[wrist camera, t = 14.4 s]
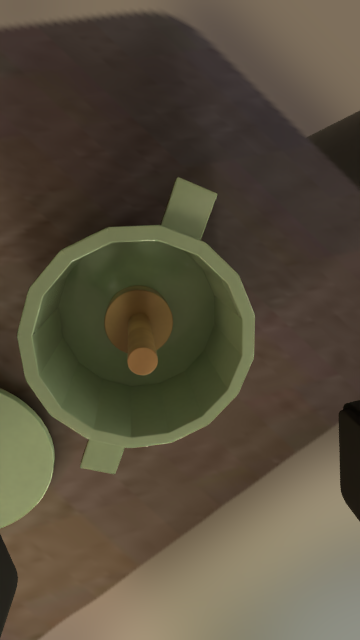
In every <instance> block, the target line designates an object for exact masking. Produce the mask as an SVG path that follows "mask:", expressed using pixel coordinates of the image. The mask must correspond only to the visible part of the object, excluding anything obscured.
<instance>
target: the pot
mask: <svg viewBox="0 0 360 640" xmlns="http://www.w3.org/2000/svg"><path fill="white" fill-rule="evenodd" d="M216 197H217V193H215V192H213V191H210V190H208V189H205V188H203V187H201V186H198V185H196V184H194V183H191V182H189V181H187V180H184V179H182V178H179V177H177V178H176V179H175V181H174V184H173V187H172V190H171V193H170V196H169V199H168V202H167V205H166V208H165V211H164V214H163V217H162V220H161V223H160V225H142V226H119V227H108V228H105V229H102V230H100V231H98V232H96V233H94V234H92V235H90V236H88V237H86V238H84V239H82V240H80V241H78V242H76V243H74V244H72V245H70V246H67V247H65V248H63V249H62V250H60V251H59V252H58V254H57V255H56V256H55V257H54V258H53V260H52V261H51V262H50V263H49V264H48V266H47V267H46V268H45V269H44V271H43V272H42V273H41V274H40V275H39V277H38V278H37V279H36V280H35V281H34V283H33V284H32V285H31V286H30V287H29V290H28V293H27V297H26V301H25V305H24V309H23V312H22V316H21V320H20V324H19V328H18V332H17V339H18V344H19V349H20V355H21V360H22V365H23V370H24V375H25V379H26V382H27V383H28V384H29V386H30V387H31V389H32V390H33V391H34V393H35V394H36V396H37V397H38V399H39V400H40V401H41V403H42V404H43V406H44V407H45V408H46V410H47V411H48V413H49V414H50V415H51V416H52V417H54V418H55V419H57V420H58V421H60V422H61V423H63V424H65V425H66V426H68V427H69V428H71V429H72V430H74V431H76V432H77V433H79V434H80V435H82V436H83V437H85V438H87V439H88V441H87V444H86V447H85V450H84V453H83V456H82V460H81V464H80V468H84V469H90V470H95V471H100V472H105V473H111V474H115V473H116V470H117V468H118V465H119V462H120V460H121V457H122V454H123V451H124V449H125V447H126V448H135V447H143V446H150V445H158V444H166V443H171V442H174V441H176V440H178V439H180V438H182V437H184V436H186V435H188V434H190V433H192V432H194V431H196V430H198V429H200V428H202V427H204V426H207V425H208V424H210V423H211V422H212V421H213V419H214V418H215V417H216V416H217V415H218V414H219V413H220V412H221V411H222V410H223V409H224V408H225V407H226V406H227V405H228V404H229V403H230V402H231V401H232V400H233V399H234V398H235V397H236V396H237V395H238V393H239V391H240V388H241V386H242V384H243V381H244V379H245V377H246V375H247V372H248V370H249V368H250V365H251V363H252V361H253V358H254V332H255V316H254V315H255V314H254V312H253V309H252V307H251V304H250V302H249V299H248V297H247V294H246V292H245V289H244V287H243V284H242V282H241V279H240V277H239V275H238V274H237V273H236V272H235V271H234V270H233V269H232V268H231V267H230V266H229V265H228V264H227V263H226V262H225V261H224V260H223V259H222V258H221V257H220V256H219V255H218V254H217V253H216V252H215V251H214V250H213V249H212V248H211V247H210V246H209V245H208V244H207V243H205V242H203V241H201V238H202V235H203V233H204V230H205V227H206V224H207V222H208V219H209V216H210V214H211V211H212V208H213V205H214V203H215V200H216ZM135 285H142V286H147V287H150V288H153V289H154V290H156V291H158V292H159V293H160V294H161V295H162V296H163V297H164V298H165V300H166V302H167V303H168V305H169V308H170V310H171V312H172V316H173V328H172V332H171V334H170V337H169V338H168V340H167V341H166V343H165V344H164V345H163V346H162V347H160V348H159V349H158V350H156V352H157V357H158V364H157V367H156V368H155V369H154V371H152V372H151V373H149V374H147V375H138V374H135V373H134V372H132V371H131V370H130V368H129V367H128V363H127V356H128V353H125V352H123V351H121V350H119V349H118V348H116V347H115V346H114V345H113V344H112V343H111V341H110V340H109V338H108V336H107V334H106V331H105V326H104V320H105V314H106V311H107V307H108V305H109V302H110V301H111V299H112V298H113V296H114V295H115V294H116V293H118V292H119V291H120V290H122V289H124V288H126V287H129V286H135Z"/></svg>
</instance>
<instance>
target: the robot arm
mask: <svg viewBox="0 0 360 640" xmlns="http://www.w3.org/2000/svg"><path fill="white" fill-rule="evenodd" d="M339 443H340V445H339V446H340V485H341V493H342V496H343V498H344V500H345V502H346V504H347V505H348V506H349V508H350V509H351V510H352V512H353V513H354V514H355V516H356V517H357V518H358V520H359V521H360V400H359V401H354V402H350V403H346V404H345V405H344V407H343V410H341V411H340V412H339ZM17 581H18V576H17V571H16V568H15V566H14V564H13V562H12V559H11V557H10V555H9V553H8V550H7V548H6V546H5V544H4V542H3V539H2V537H1V535H0V637H1V634H2V631H3V628H4V625H5V622H6V618H7V615H8V612H9V609H10V606H11V603H12V600H13V597H14V594H15V591H16V587H17Z"/></svg>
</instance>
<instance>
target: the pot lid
mask: <svg viewBox="0 0 360 640" xmlns="http://www.w3.org/2000/svg"><path fill="white" fill-rule="evenodd" d="M54 464H55V453H54V446H53V442H52V439H51V436H50V434H49V432H48V429H47V428H46V426H45V424H44V423H43V421H42V420H41V418H40V417H39V416H38V415H37V414H36V412H35V411H34V410H33V409H31V408H30V407H29V406H28V405H27V404H26V403H25V402H23V401H22V400H20V399H19V398H18V397H16V396H15V395H13V394H11V393H9V392H7V391H5V390H3V389H1V388H0V528H2V527H5V526H7V525H9V524H11V523H13V522H15V521H17V520H19V519H20V518H22V517H23V516H24V515H26V514H27V513H28V512H29V511H31V510H32V509H33V508H34V507H35V506H36V505H37V503H38V502H39V501H40V500H41V499H42V497H43V496H44V494H45V492H46V491H47V489H48V486H49V484H50V481H51V478H52V475H53V471H54Z"/></svg>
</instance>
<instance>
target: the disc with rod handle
mask: <svg viewBox="0 0 360 640" xmlns="http://www.w3.org/2000/svg"><path fill="white" fill-rule="evenodd" d="M104 326H105V331H106V334H107V336H108V338H109V340H110V341H111V343H112V344H113V345H114V346H115V347H116V348H118V349H119V350H121V351H123V352H125V353H128V356H127V363H128V367H129V368H130V370H131V371H132V372H134V373H135V374H138V375H147V374H149V373H151V372H152V371H154V369H155V368H156V367H157V364H158V357H157V352H156V350H158V349H159V348H160V347H162V346H163V345H164V344H165V343H166V341H167V340H168V338H169V337H170V334H171V332H172V328H173V316H172V312H171V310H170V308H169V305H168V303H167V302H166V300H165V298H164V297H163V296H162V295H161V294H160V293H159V292H158V291H156V290H154V289H153V288H150V287H147V286H142V285H135V286H129V287H126V288H124V289H122V290H120V291H119V292H118V293H116V294H115V295H114V296H113V298H112V299H111V301H110V302H109V305H108V307H107V311H106V314H105V320H104Z"/></svg>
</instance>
